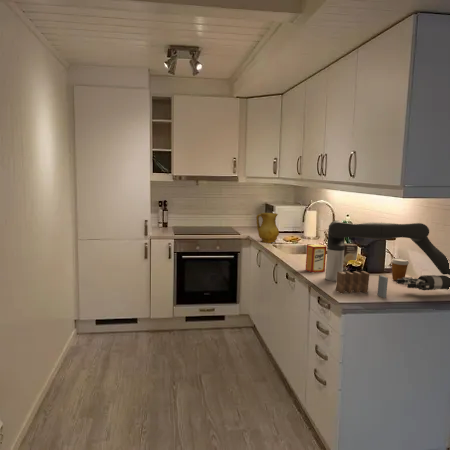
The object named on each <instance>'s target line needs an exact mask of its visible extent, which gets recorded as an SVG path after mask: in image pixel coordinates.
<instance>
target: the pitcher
mask: <svg viewBox="0 0 450 450" xmlns="http://www.w3.org/2000/svg"><path fill="white" fill-rule="evenodd" d="M278 215H279V214H278V213H275V212H260V213H258V214H257V215H256V228H257V233H258V237H259V238H260V239H261V240H260V242H262V243H264V244H265V243H266V244H272V243H271V242H275V243H276V240H277V239H278V236H280V230H279V228H278V226H277V224H276V223H277V222H276V219H277V217H278ZM260 217H261V219H262V221H261V224H260Z"/></svg>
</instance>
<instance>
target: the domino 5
mask: <svg viewBox="0 0 450 450" xmlns="http://www.w3.org/2000/svg"><path fill="white" fill-rule="evenodd" d="M377 282H378V284H377V294H376V295H378V296H379V297H381V298H384V299H385V298H386V299H387V292H388V291H387V290H388V282H389V277H387V276H385V275H383V274H381V275H380V274H379V275H378V281H377Z"/></svg>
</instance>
